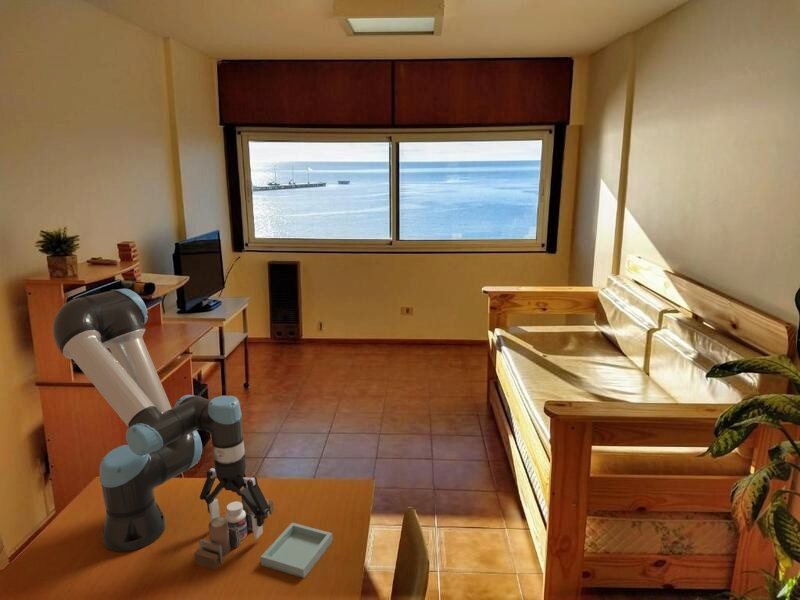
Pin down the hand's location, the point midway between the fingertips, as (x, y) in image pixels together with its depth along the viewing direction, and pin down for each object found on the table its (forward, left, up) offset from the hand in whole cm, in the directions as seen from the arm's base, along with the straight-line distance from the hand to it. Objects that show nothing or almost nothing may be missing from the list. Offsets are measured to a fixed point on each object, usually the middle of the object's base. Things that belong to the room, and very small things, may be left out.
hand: (236, 529), depth 151 cm
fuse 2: (0, +7, -2) cm, 7 cm away
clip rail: (0, 0, -2) cm, 2 cm away
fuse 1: (0, -6, -2) cm, 7 cm away
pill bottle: (0, 0, -2) cm, 2 cm away
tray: (+18, 0, -2) cm, 19 cm away
